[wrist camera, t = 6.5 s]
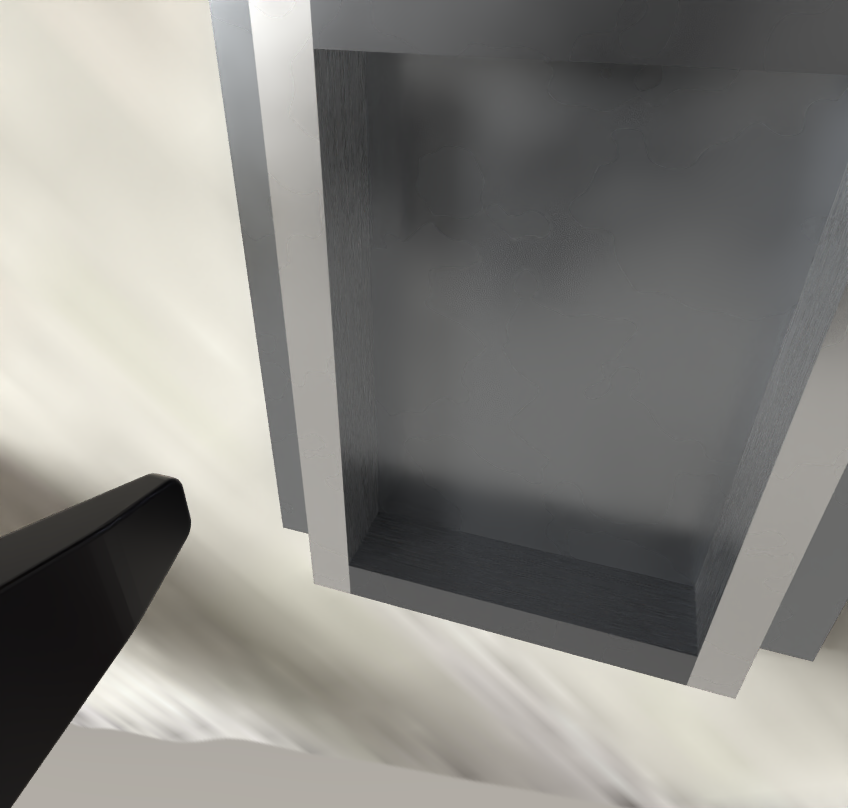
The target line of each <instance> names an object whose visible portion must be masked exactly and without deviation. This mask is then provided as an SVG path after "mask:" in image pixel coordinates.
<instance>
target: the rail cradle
mask: <svg viewBox="0 0 848 808" xmlns="http://www.w3.org/2000/svg"><path fill="white" fill-rule="evenodd" d="M209 4H210V12H211V19H212V26H213V33H214V40H215V47H216V54H217V61H218V68H219V75H220V82H221V90H222V97H223V104H224V111H225V118H226V125H227V132H228V139H229V146H230V153H231V160H232V168H233V175H234V182H235V189H236V196H237V203H238V210H239V217H240V224H241V231H242V238H243V246H244V253H245V260H246V267H247V274H248V281H249V288H250V295H251V302H252V309H253V316H254V323H255V331H256V338H257V345H258V352H259V359H260V366H261V373H262V380H263V387H264V394H265V401H266V409H267V416H268V423H269V430H270V437H271V444H272V451H273V458H274V465H275V472H276V479H277V487H278V494H279V501H280V508H281V515H282V522H283V527H284V528H288V529H292V530H296V531H300V532H304V533H307V534H309V542H310V551H311V560H312V569H313V578H314V584H318V585H321V586H325V587H329V588H332V589H336V590H340V591H343V592H347V593H350V594H354V595H358V596H361V597H365V598H369V599H372V600H376V601H380V602H383V603H387V604H391V605H394V606H398V607H402V608H405V609H409V610H413V611H416V612H420V613H424V614H427V615H431V616H435V617H438V618H442V619H446V620H449V621H453V622H457V623H460V624H464V625H467V626H471V627H475V628H478V629H482V630H486V631H489V632H493V633H497V634H500V635H504V636H508V637H511V638H515V639H519V640H522V641H526V642H530V643H533V644H537V645H541V646H544V647H548V648H552V649H555V650H559V651H563V652H566V653H570V654H573V655H577V656H581V657H584V658H588V659H592V660H595V661H599V662H603V663H606V664H610V665H614V666H617V667H621V668H625V669H628V670H632V671H636V672H639V673H643V674H647V675H650V676H654V677H658V678H661V679H665V680H669V681H672V682H676V683H680V684H683V685H687V686H690V687H694V688H698V689H701V690H705V691H709V692H712V693H716V694H720V695H723V696H727V697H731V698H734V699H735V698H736V696H737V694H738V692H739V690H740V688H741V686H742V683H743V681H744V679H745V677H746V675H747V673H748V671H749V669H750V667H751V665H752V662H753V660H754V658H755V656H756V654H757V652H758V650H759V648H762V649H766V650H770V651H773V652H777V653H781V654H785V655H789V656H793V657H797V658H801V659H805V660H809V661H813V660H814V659H815V657H816V655H817V653H818V652H819V650H820V648H821V646H822V644H823V643H824V641H825V639H826V637H827V635H828V634H829V632H830V630H831V628H832V626H833V625H834V623H835V621H836V619H837V618H838V616H839V614H840V612H841V610H842V609H843V607H844V605H845V603H846V601H847V600H848V0H209Z"/></svg>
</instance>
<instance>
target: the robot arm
mask: <svg viewBox="0 0 848 808" xmlns="http://www.w3.org/2000/svg"><path fill="white" fill-rule="evenodd" d="M190 527H191V518H190V514H189V510H188V506H187V502H186V498H185V494H184V490H183V486H182V484H181V482H180V481H179V480H178V479H176V478H173V477H169V476H165V475H161V474H156V473H152V474H148V475H145V476H143V477H140V478H138V479H136V480H133V481H131V482H129V483H126V484H124V485H122V486H119V487H117V488H115V489H112V490H110V491H108V492H105V493H103V494H101V495H98V496H96V497H94V498H91V499H89V500H87V501H84V502H82V503H79V504H77V505H75V506H72V507H70V508H68V509H65V510H63V511H61V512H58V513H56V514H54V515H51V516H49V517H47V518H44V519H42V520H40V521H37V522H35V523H33V524H30V525H28V526H25V527H23V528H21V529H18V530H16V531H14V532H11V533H9V534H7V535H4V536H2V537H0V808H11V807H12V805H13V804H14V803H15V801H16V800H17V798H18V797H19V795H20V794H21V793H22V791H23V790H24V788H25V787H26V786H27V784H28V783H29V781H30V780H31V778H32V777H33V775H34V774H35V773H36V771H37V770H38V768H39V767H40V765H41V764H42V763H43V761H44V760H45V758H46V757H47V755H48V754H49V752H50V751H51V750H52V748H53V747H54V745H55V744H56V743H57V741H58V740H59V738H60V737H61V735H62V734H63V732H64V731H65V729H66V728H67V727H68V725H69V724H70V722H71V721H72V720H73V718H74V717H75V715H76V714H77V712H78V711H79V710H80V708H81V707H82V705H83V704H84V702H85V701H86V700H87V698H88V697H89V695H90V694H91V692H92V691H93V690H94V688H95V687H96V685H97V684H98V682H99V681H100V679H101V678H102V677H103V675H104V674H105V672H106V671H107V669H108V668H109V667H110V665H111V664H112V662H113V661H114V659H115V658H116V657H117V655H118V654H119V652H120V651H121V649H122V648H123V647H124V645H125V644H126V642H127V641H128V639H129V638H130V636H131V635H132V633H133V632H134V630H135V629H136V627H137V625H138V624H139V622H140V620H141V619H142V617H143V615H144V614H145V612H146V610H147V608H148V607H149V605H150V603H151V601H152V600H153V598H154V596H155V594H156V592H157V591H158V589H159V587H160V585H161V584H162V582H163V580H164V578H165V576H166V575H167V573H168V571H169V569H170V568H171V566H172V564H173V562H174V560H175V559H176V557H177V555H178V553H179V551H180V550H181V548H182V546H183V544H184V543H185V541H186V539H187V537H188V535H189V532H190Z"/></svg>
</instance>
